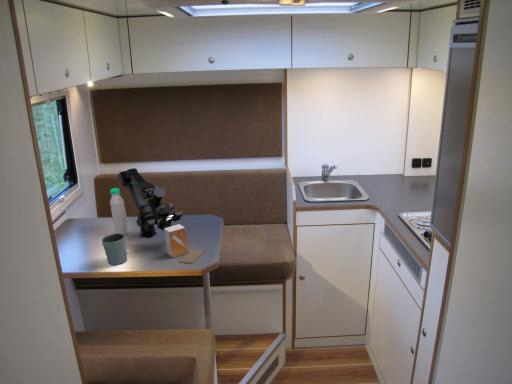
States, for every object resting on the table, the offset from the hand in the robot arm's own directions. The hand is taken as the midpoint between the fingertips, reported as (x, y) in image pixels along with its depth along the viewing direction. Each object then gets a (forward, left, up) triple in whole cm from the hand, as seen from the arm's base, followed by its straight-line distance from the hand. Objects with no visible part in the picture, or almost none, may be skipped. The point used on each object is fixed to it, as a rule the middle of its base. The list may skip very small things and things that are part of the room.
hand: (171, 235), depth 206 cm
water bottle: (-38, +14, -8) cm, 42 cm away
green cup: (-20, -16, -8) cm, 27 cm away
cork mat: (+12, -5, -8) cm, 15 cm away
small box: (+4, -3, -8) cm, 9 cm away
